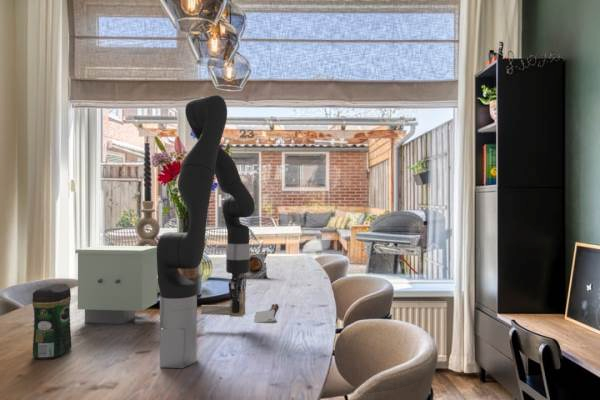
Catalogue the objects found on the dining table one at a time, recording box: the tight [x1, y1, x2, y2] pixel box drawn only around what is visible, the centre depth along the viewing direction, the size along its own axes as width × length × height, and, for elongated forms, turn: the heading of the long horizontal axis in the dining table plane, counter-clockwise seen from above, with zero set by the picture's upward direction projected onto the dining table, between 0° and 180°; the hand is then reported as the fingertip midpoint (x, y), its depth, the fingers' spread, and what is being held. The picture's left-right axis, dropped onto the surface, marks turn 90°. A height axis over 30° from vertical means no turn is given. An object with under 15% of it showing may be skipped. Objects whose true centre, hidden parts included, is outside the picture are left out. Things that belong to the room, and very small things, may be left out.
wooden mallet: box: [200, 289, 246, 318], centre depth 144 cm, size 4×14×8 cm, turn 84°
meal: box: [244, 252, 268, 279], centre depth 239 cm, size 15×4×13 cm, turn 82°
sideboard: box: [75, 245, 158, 325], centre depth 152 cm, size 14×23×25 cm, turn 84°
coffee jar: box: [31, 283, 72, 360], centre depth 121 cm, size 10×8×19 cm
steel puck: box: [132, 314, 150, 325], centre depth 153 cm, size 5×5×2 cm
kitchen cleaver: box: [253, 303, 279, 324], centre depth 164 cm, size 24×1×10 cm
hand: (237, 310), depth 143 cm, fingers closed on wooden mallet, 4 cm apart
